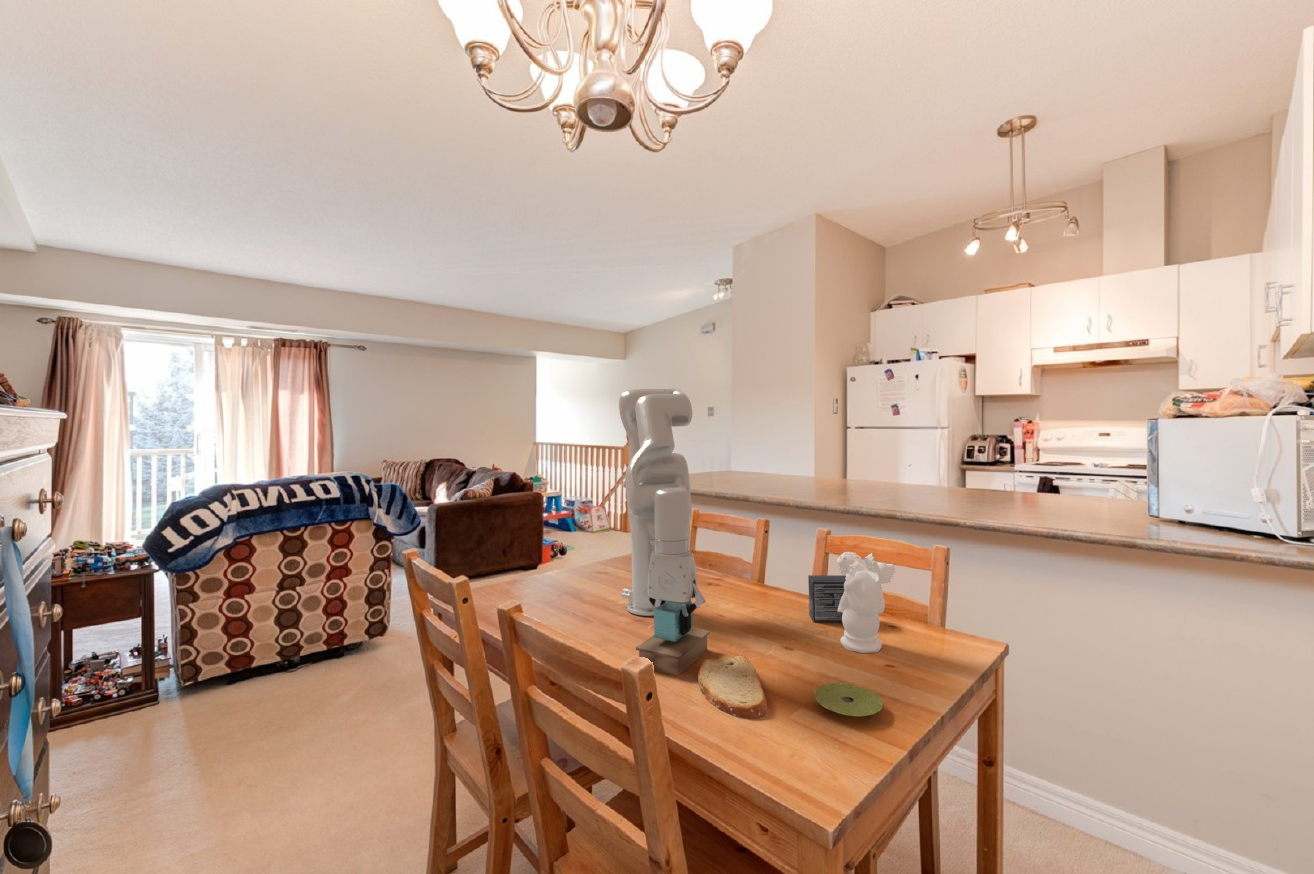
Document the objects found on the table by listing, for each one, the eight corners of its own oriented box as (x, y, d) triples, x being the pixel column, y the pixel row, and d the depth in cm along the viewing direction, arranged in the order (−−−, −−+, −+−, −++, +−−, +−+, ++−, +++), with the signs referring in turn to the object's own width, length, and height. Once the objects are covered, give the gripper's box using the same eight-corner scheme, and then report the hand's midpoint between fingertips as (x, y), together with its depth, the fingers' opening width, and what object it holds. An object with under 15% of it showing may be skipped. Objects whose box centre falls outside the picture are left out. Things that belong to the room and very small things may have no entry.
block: (654, 637, 113) (653, 609, 113) (672, 624, 120) (672, 598, 120) (675, 641, 110) (674, 613, 110) (692, 628, 117) (692, 601, 117)
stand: (636, 666, 111) (635, 647, 111) (670, 640, 124) (670, 623, 124) (678, 677, 106) (678, 657, 106) (710, 649, 119) (710, 631, 119)
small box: (849, 614, 139) (849, 574, 139) (856, 623, 133) (856, 581, 133) (808, 613, 140) (807, 573, 140) (813, 622, 134) (812, 581, 134)
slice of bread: (758, 726, 89) (758, 704, 89) (669, 695, 100) (669, 675, 100) (799, 683, 104) (798, 664, 104) (717, 660, 114) (717, 643, 114)
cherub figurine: (832, 637, 125) (830, 543, 125) (883, 634, 126) (881, 541, 126) (856, 658, 113) (854, 554, 113) (912, 655, 114) (910, 552, 114)
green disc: (829, 686, 101) (828, 676, 101) (891, 705, 94) (891, 694, 94) (803, 712, 93) (803, 700, 93) (870, 734, 86) (870, 722, 86)
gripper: (629, 545, 116) (631, 629, 116) (700, 554, 107) (702, 644, 108) (647, 539, 122) (649, 618, 123) (716, 546, 114) (717, 631, 114)
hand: (673, 629), depth 115 cm, fingers closed on block, 4 cm apart
